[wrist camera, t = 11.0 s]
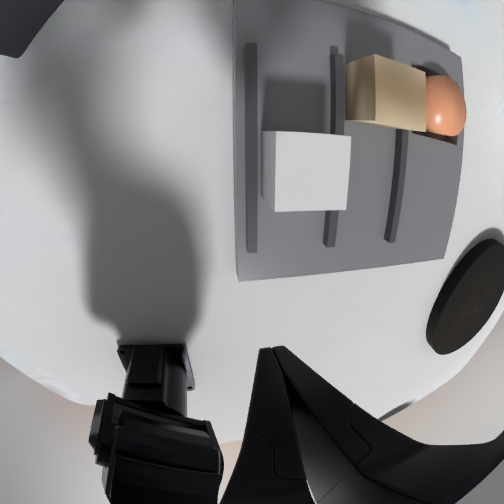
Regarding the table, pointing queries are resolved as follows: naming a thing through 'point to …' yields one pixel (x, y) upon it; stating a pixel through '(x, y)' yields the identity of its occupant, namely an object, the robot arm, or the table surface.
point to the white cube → (304, 170)
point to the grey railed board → (333, 122)
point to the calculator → (22, 23)
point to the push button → (444, 106)
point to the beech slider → (385, 93)
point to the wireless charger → (467, 298)
